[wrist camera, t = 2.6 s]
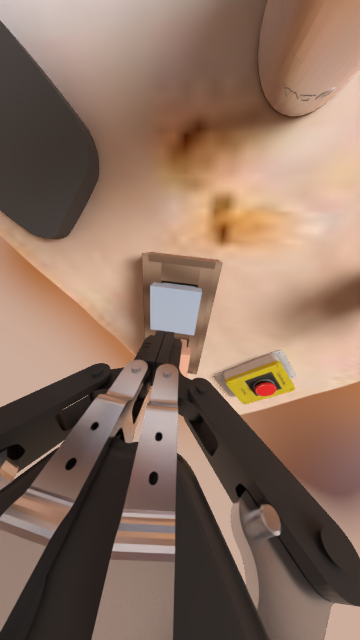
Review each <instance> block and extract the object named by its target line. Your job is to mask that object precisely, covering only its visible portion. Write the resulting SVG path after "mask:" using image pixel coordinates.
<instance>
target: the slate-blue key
mask: <svg viewBox="0 0 360 640" xmlns="http://www.w3.org/2000/svg"><path fill="white" fill-rule="evenodd" d="M201 295H202V289H201V288H196V287H195V286H187V285H179V284H171V283H164V282H163V283H156V282H154V283H153V284H151V285H150V329H151V330H162V331H170V332H175V333H180V334H187V335H194V333H195V328H196V323H197V317H198V312H199V306H200V301H201Z"/></svg>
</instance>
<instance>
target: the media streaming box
mask: <svg viewBox="0 0 360 640" xmlns="http://www.w3.org/2000/svg"><path fill="white" fill-rule="evenodd" d="M98 175H99V160H98V154H97V150H96V146H95V143H94V141H93V138H92V136H91V134H90V132H89V130H88V129H87V128H86V126H85V125H84V123H83V122H82V121H81V119H80V118H79V117H78V115H77V114H76V112H75V111H74V110H73V108H72V107H71V106H70V104H69V103H68V102H67V101H66V99H65V98H64V97H63V95H62V94H61V93H60V91H59V90H58V89H57V88H56V86H55V85H54V84H53V83H52V81H51V80H50V79H49V78H48V76H47V75H46V74H45V73H44V71H43V70H42V69H41V68H40V66H39V65H38V64H37V63H36V62H35V60H34V59H33V58H32V57H31V56H30V54H29V53H28V52H27V51H26V50H25V48H24V47H23V46H22V45H21V44H20V43H19V41H18V40H17V39H16V38H15V37H14V36H13V35H12V33H11V32H10V31H9V30H8V29H7V28H6V26H5V25H4V24H3V23H2V22H1V21H0V210H1V211H2V212H3V213H5V214H6V215H7V216H8V217H10V218H11V219H12V220H13V221H15V222H16V223H17V224H19V225H20V226H21V227H23V228H24V229H26V230H27V231H28V232H30V233H32V234H34V235H36V236H38V237H42V238H54V239H61V238H64V237H66V236H68V235H69V233H70V232H71V230H72V229H73V227H74V225H75V224H76V222H77V220H78V218H79V217H80V215H81V213H82V211H83V209H84V207H85V206H86V204H87V202H88V200H89V198H90V195H91V193H92V191H93V189H94V187H95V185H96V182H97V180H98Z"/></svg>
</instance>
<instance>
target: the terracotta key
mask: <svg viewBox="0 0 360 640" xmlns="http://www.w3.org/2000/svg"><path fill="white" fill-rule="evenodd" d="M177 339H179V338H177ZM181 342H182V350H181V357H180V365H179V369H180V372H181V373H182V375H183V376H185V377H187V372H188V366H189V361H190V355H191V348H188V347H187V340H186V339H181Z"/></svg>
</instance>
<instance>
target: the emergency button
mask: <svg viewBox="0 0 360 640" xmlns="http://www.w3.org/2000/svg"><path fill="white" fill-rule="evenodd" d="M295 377H296V374H295V372H294V371H293V369H292V367H291V365H290V363H289V361H288V359H287V357H286V356H285V354H284V352H283V351H282V350H277V351H274V352H271V353H269V354H266V355H264V356H261V357H259V358H256V359H253V360H251V361H248V362H246V363H243V364H241V365H238V366H236V367H233V368H230V369H228V370H225V371H223V372H220V373H218V374H216V375H215V378H216V380H217V381H218V382H219V383H220V384H221V385H222V386H223V388H224V389H225V390H226V391H227V392H228V393H229V395H230V396H232V397H237V398H238V399H239V400H240V401H241V403H243V404H249V403H252V402H256V401H259V400H263V399H266V398H270V397H273V396H277V395H281V394H284V393H288V392H291V391H294V390H295V387H294V385H293V383H292V381H291V379H293V378H295Z"/></svg>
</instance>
